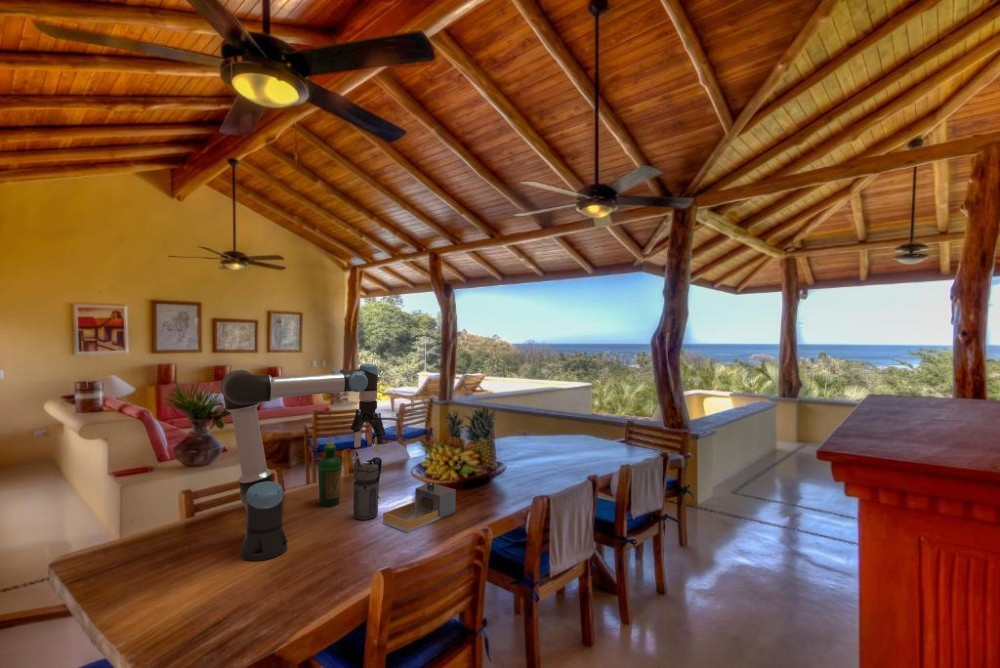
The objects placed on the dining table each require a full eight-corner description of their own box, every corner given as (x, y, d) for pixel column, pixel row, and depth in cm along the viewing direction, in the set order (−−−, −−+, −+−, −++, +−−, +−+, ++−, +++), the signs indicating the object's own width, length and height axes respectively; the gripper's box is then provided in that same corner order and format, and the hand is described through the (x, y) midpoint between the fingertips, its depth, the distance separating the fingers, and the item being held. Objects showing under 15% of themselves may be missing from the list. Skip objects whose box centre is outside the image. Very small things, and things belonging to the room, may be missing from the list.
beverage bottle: (387, 514, 208) (388, 457, 208) (360, 523, 198) (361, 463, 198) (373, 508, 215) (374, 453, 215) (347, 517, 205) (347, 458, 205)
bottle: (336, 508, 215) (337, 445, 214) (313, 507, 215) (314, 445, 215) (345, 500, 225) (345, 440, 225) (322, 499, 225) (323, 440, 225)
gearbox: (407, 532, 190) (407, 502, 190) (382, 523, 199) (383, 494, 199) (455, 512, 212) (455, 485, 212) (431, 504, 221) (431, 478, 221)
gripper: (394, 402, 203) (393, 452, 203) (357, 396, 217) (356, 443, 217) (380, 404, 197) (379, 455, 197) (343, 398, 211) (342, 446, 211)
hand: (367, 449), depth 207 cm, fingers open, 13 cm apart
